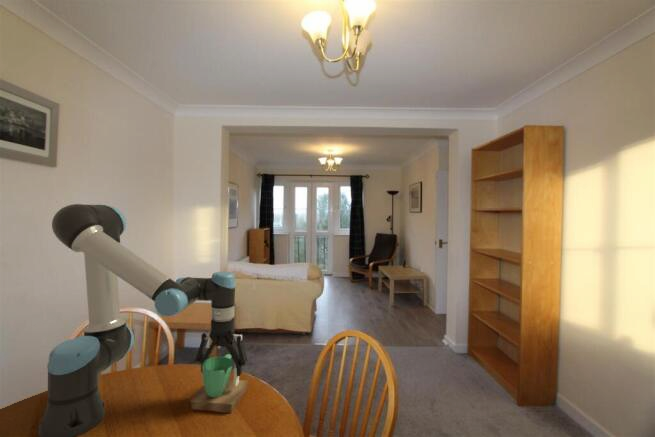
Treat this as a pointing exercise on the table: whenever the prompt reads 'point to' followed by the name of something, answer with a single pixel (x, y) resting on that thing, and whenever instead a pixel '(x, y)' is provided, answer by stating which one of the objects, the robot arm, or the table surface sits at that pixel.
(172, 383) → the table surface
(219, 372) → the mug
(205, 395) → the walnut board
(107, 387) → the table surface
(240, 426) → the table surface
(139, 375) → the table surface
